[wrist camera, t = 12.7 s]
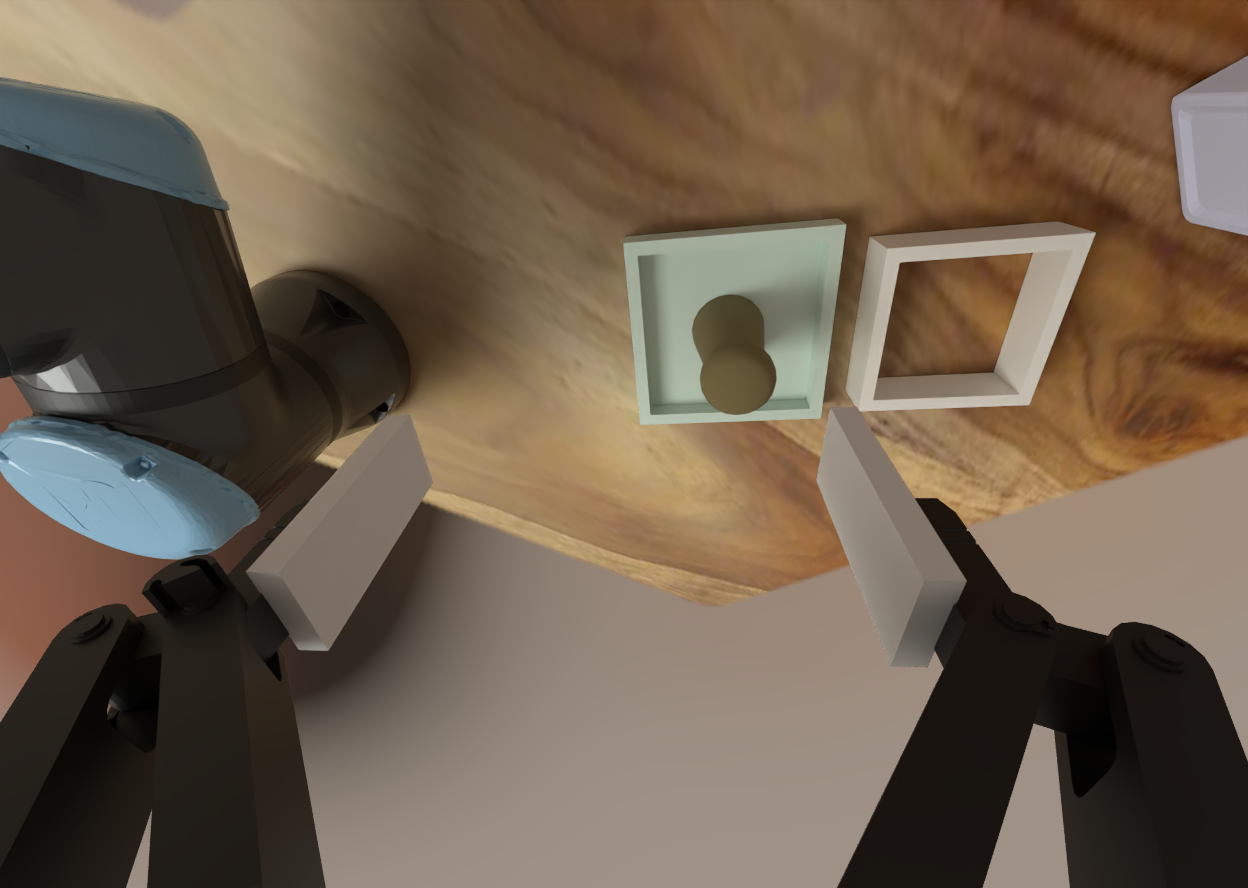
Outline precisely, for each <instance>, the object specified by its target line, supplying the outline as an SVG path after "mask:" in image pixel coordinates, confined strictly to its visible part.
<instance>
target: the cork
mask: <svg viewBox="0 0 1248 888" xmlns="http://www.w3.org/2000/svg"><path fill="white" fill-rule="evenodd" d="M692 336H693V341H694V344H695V346H696V349H697V351H698V353H699V356H700V358H701V361H702V363H703V365H702V369H701V373H700V385H701V391H702V393H703V395H704V396H705V398H706V400H707V401H708V403H709V404H710V405H711V406H713V407H714V408H715V409H716V410H718V411H721V412H723V413H725V414H731V415H742V414H748V413H750V412H753V411H755V410H757V409H759V408H760V407H762V406H763V405H764V404H765V403H767V401H768V400H769V398H770V397H771V396H772V394H773V392H774V388H775V385H776V381H777V376H776V368H775V365H774V363H773V361H772V359H771V357H770V355H769V354H768V353H767V352H766V351H765V350H764V318H763V316H762V314H761V312H760V309H759V308H758V307H757V306H756V305H755V304H754V303H753V302H752V301H751V300H749V299H747V298H745V297H743V296H739V295H731V294H729V295H723V296H718V297H716V298H714V299H712V300H710V301H708V302H707V303H706V304H705V305H704V306H703V307H702V308H701V309H700V310H699V311H698V313H697V315H696V317H695V318H694V321H693V326H692Z"/></svg>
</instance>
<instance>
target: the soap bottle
mask: <svg viewBox="0 0 1248 888" xmlns="http://www.w3.org/2000/svg"><path fill="white" fill-rule="evenodd" d="M1171 113H1172V122H1173V131H1174V140H1175V149H1176V158H1177V167H1178V176H1179V185H1180V194H1181V203H1182V212H1183V215H1184V217H1185V219H1186V220H1188V221H1189V222H1191V223H1194V224H1199V225H1203V226H1208V227H1212V228H1217V229H1221V230H1225V231H1230V232H1234V233H1239V234H1243V235H1248V56H1246V57H1245V58H1243V59H1241V60H1239V61H1237V62H1236V63H1234V64H1232V65H1230V66H1228V67H1227V68H1225V69H1223V70H1221V71H1219V72H1218V73H1216V74H1214V75H1212V76H1210V77H1209V78H1207V79H1205V80H1203V81H1201V82H1200V83H1198V84H1196V85H1194V86H1192V87H1191V88H1189V89H1187V90H1185V91H1183V92H1182V93H1180V94H1178V95H1176V96H1174V97H1173V100H1172V104H1171Z"/></svg>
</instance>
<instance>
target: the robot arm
mask: <svg viewBox="0 0 1248 888" xmlns="http://www.w3.org/2000/svg"><path fill="white" fill-rule="evenodd" d="M227 210H229V205H228V204H227V202H226V201H225V200H224V199H223V198H222V197H221V194H220V192H219V189H218V187H217V184H216V182H215V179H214V176H213V174H212V171H211V168H210V165H209V163H208V160H207V157H206V154H205V152H204V149H203V147H202V144H201V142H200V141H199V139H198V137H197V136H196V135H195V133H194V132H193V131H192V130H191V129H190V128H189V127H188V126H187V125H186V124H185V123H184V122H183V121H181V120H180V119H179V118H177V117H176V116H174V115H173V114H171V113H169V112H167V111H165V110H162V109H160V108H157V107H154V106H150V105H146V104H142V103H137V102H133V101H128V100H123V99H118V98H113V97H108V96H102V95H97V94H92V93H87V92H81V91H76V90H71V89H65V88H60V87H54V86H48V85H43V84H37V83H31V82H26V81H21V80H15V79H10V78H4V77H0V378H5V377H8V376H10V377H11V378H12V379H13V381H14V382H15V384H16V385H17V387H18V388H19V390H20V391H21V393H22V395H23V397H24V398H25V400H26V402H27V403H28V404H29V406H30V408H31V410H32V412H33V413H32V417H25V418H23V419H18V420H16V421H14V422H13V423H11V424H10V425H9V427H8V429H7V430H6V431H5V432H3V433H2V434H1V435H0V471H1V473H2V474H3V476H4V477H5V478H6V480H7V481H8V482H9V483H10V484H11V485H12V486H13V487H14V488H15V489H16V491H17V492H19V493H20V494H21V495H22V496H23V497H24V498H26V499H27V500H28V501H29V502H30V503H32V504H33V505H34V506H35V507H37V508H38V509H39V510H41V511H43V512H44V513H46V514H47V515H48V516H50V517H51V518H53V519H55V520H56V521H58V522H60V523H61V524H63V525H65V526H67V527H69V528H70V529H72V530H74V531H76V532H78V533H80V534H83V535H85V536H87V537H89V538H91V539H93V540H95V541H98V542H100V543H103V544H105V545H108V546H111V547H114V548H117V549H120V550H124V551H126V552H130V553H134V554H138V555H142V556H147V557H154V558H163V559H180V560H178V561H176V562H174V563H172V564H170V565H168V566H167V567H165V568H163V569H162V570H160V571H159V572H158V573H156V574H155V575H154V576H153V577H152V578H151V579H150V580H149V581H148V582H147V583H146V584H145V586H144V589H143V591H142V594H143V595H144V596H145V597H146V598H147V599H148V600H149V601H150V603H151V604H152V605H153V606H154V607H155V608H156V609H157V611H158V612H157V613H153V614H148V615H144V616H140V617H136V615H135V614H134V613H133V612H132V611H131V610H130V609H129V608H128V607H127V606H126V605H123V604H111V605H106V606H102V607H100V608H97V609H94V610H92V611H89V612H87V613H85V614H83V615H82V616H79V617H78V618H76V619H75V620H73V621H72V622H71V623H70V624H68V625H67V626H66V627H65V628H63V629H62V630H61V631H60V632H59V633H58V634H57V636H56V637H55V638H54V639H53V640H52V642H51V644H50V645H49V647H48V648H47V650H46V651H45V653H44V655H43V656H42V658H41V659H40V661H39V662H38V664H37V666H36V667H35V669H34V670H33V672H32V674H31V675H30V677H29V678H28V680H27V681H26V683H25V684H24V686H23V688H22V689H21V691H20V692H19V694H18V696H17V697H16V699H15V700H14V702H13V703H12V705H11V707H10V708H9V710H8V711H7V713H6V714H5V716H4V718H3V719H2V721H1V722H0V888H126V885H127V883H128V879H129V876H130V873H131V870H132V867H133V864H134V861H135V858H136V855H137V852H138V849H139V846H140V843H141V840H142V837H143V834H144V831H145V828H146V825H147V822H148V819H149V816H150V813H151V810H152V820H151V836H150V852H149V867H148V868H149V869H148V883H147V888H326V887H325V881H324V876H323V870H322V864H321V858H320V853H319V847H318V841H317V836H316V830H315V824H314V819H313V813H312V807H311V802H310V796H309V790H308V785H307V779H306V773H305V768H304V762H303V756H302V750H301V745H300V739H299V734H298V728H297V723H296V716H295V711H294V706H293V699H292V694H291V688H290V683H289V677H288V671H287V665H286V660H285V656H284V654H283V653H282V651H281V649H280V648H279V647H280V646H281V644H282V643H283V642H284V640H285V639H286V637H287V636H288V635H289V636H290V637H291V639H292V640H293V642H294V643H295V645H296V646H297V647H298V649H299V650H327V651H328V650H329V649H330V647H331V646H332V644H333V642H334V641H335V639H336V637H337V636H338V634H339V633H340V631H341V629H342V628H343V626H344V625H345V623H346V621H347V620H348V618H349V617H350V615H351V613H352V612H353V610H354V609H355V607H356V605H357V603H358V602H359V600H360V599H361V597H362V596H363V594H364V592H365V591H366V589H367V588H368V586H369V584H370V583H371V581H372V579H373V578H374V576H375V575H376V573H377V572H378V570H379V568H380V567H381V565H382V563H383V562H384V560H385V559H386V557H387V555H388V554H389V552H390V551H391V549H392V547H393V546H394V544H395V543H396V541H397V539H398V538H399V536H400V535H401V533H402V531H403V530H404V528H405V526H406V525H407V523H408V522H409V520H410V518H411V517H412V515H413V514H414V512H415V510H416V509H417V507H418V506H419V504H420V502H421V501H422V499H423V498H424V496H425V494H426V493H427V491H428V490H429V488H430V486H431V485H432V483H433V481H432V478H431V475H430V472H429V469H428V466H427V463H426V460H425V458H424V455H423V452H422V449H421V446H420V443H419V440H418V437H417V434H416V431H415V428H414V425H413V422H412V419H411V417H410V415H389V414H390V413H391V412H392V411H393V410H394V409H395V408H396V406H397V405H398V404H399V403H400V402H401V401H402V399H403V397H404V396H405V394H406V391H407V388H408V385H409V378H410V366H409V359H408V355H407V351H406V348H405V346H404V343H403V341H402V339H401V336H400V335H399V333H398V331H397V329H396V328H395V326H394V325H393V323H392V322H391V320H390V319H389V318H388V316H387V315H386V314H385V313H384V312H383V311H382V310H381V308H380V307H379V306H378V305H377V304H376V303H374V302H373V301H372V300H371V299H370V298H369V297H367V296H366V295H365V294H364V293H362V292H361V291H359V290H358V289H356V288H355V287H353V286H351V285H350V284H348V283H346V282H344V281H342V280H340V279H337V278H335V277H332V276H329V275H326V274H322V273H318V272H312V271H290V272H285V273H282V274H279V275H276V276H274V277H271V278H269V279H267V280H264V281H262V282H260V283H258V284H256V285H255V286H253V287H252V288H251V289H250V287H249V284H248V280H247V277H246V274H245V270H244V267H243V264H242V260H241V257H240V253H239V250H238V247H237V243H236V240H235V237H234V233H233V230H232V227H231V223H230V220H229V217H228V213H227ZM382 420H383V421H382ZM380 421H382V422H381V423H380V424H379V425H378V426H377V427H376V428H375V429H374V431H373V432H372V433H371V434H370V435H369V436H368V437H367V438H366V439H365V440H364V442H363V443H362V444H361V445H360V446H359V447H358V448H357V449H356V450H355V452H354V453H353V454H352V455H351V456H350V457H349V458H348V459H347V460H346V461H345V463H344V464H343V465H342V466H341V467H340V468H339V469H338V470H337V472H336V473H335V474H334V475H333V476H332V477H331V478H330V479H329V481H328V482H327V483H326V484H325V485H324V486H323V487H322V488H321V489H320V490H319V492H317V494H316V495H315V496H314V497H313V498H312V499H311V500H304V501H303V502H301V503H300V504H298V505H297V506H295V507H294V508H292V509H291V510H289V511H288V512H286V513H285V514H284V515H283V516H282V517H281V519H280V520H279V521H278V522H277V523H276V524H275V525H274V526H273V529H271V530H269V531H268V533H267V534H266V535H265V536H264V537H263V539H262V541H259V542H258V543H257V544H256V545H255V546H254V547H253V548H252V550H251V551H250V552H249V553H248V554H247V555H246V556H245V557H244V558H243V559H242V560H241V561H240V562H239V564H237V566H236V567H235V568H234V569H233V570H232V571H231V572H230V573H229V574H228V575H226V573H225V572H224V570H223V569H222V567H221V566H220V565H219V564H218V562H217V561H216V559H215V558H214V557H213V556H209V555H206V554H207V553H210V552H212V551H214V550H216V549H218V548H219V547H221V546H222V545H223V544H225V543H226V542H227V541H228V540H229V539H230V538H232V537H233V536H234V535H235V534H236V533H237V532H238V531H240V530H241V529H242V528H243V527H244V526H246V525H249V524H251V523H252V522H254V521H255V520H256V519H257V518H258V517H259V515H260V514H261V513H262V512H263V511H264V510H265V509H266V508H267V507H268V506H269V505H270V504H271V503H272V502H273V501H274V500H275V499H276V498H277V497H278V496H279V495H280V494H281V493H282V492H283V491H284V490H285V489H286V488H287V487H288V486H289V485H290V484H291V483H292V482H293V481H294V480H295V479H296V478H297V477H298V476H299V475H300V474H301V473H302V472H303V470H305V469H306V468H307V467H308V466H309V465H310V464H311V463H312V462H313V461H314V460H315V459H316V458H317V457H318V456H319V455H320V454H321V453H322V452H323V451H324V450H325V448H326V447H328V446H329V445H330V444H331V443H332V442H333V441H335V440H337V439H340V438H342V437H345V436H348V435H350V434H353V433H355V432H358V431H361V430H363V429H366V428H369V427H371V426H373V425H375V424H377V423H379V422H380ZM816 481H817V483H818V486H819V488H820V491H821V493H822V496H823V498H824V501H825V503H826V506H827V508H828V511H829V513H830V516H831V518H832V521H833V523H834V526H835V528H836V531H837V533H838V536H839V538H840V541H841V543H842V546H843V548H844V551H845V553H846V556H847V558H848V561H849V563H850V566H851V568H852V571H853V573H854V576H855V578H856V581H857V583H858V586H859V588H860V591H861V593H862V596H863V598H864V601H865V603H866V606H867V608H868V611H869V613H870V616H871V618H872V621H873V623H874V626H875V628H876V631H877V633H878V636H879V638H880V641H881V643H882V646H883V648H884V651H885V653H886V656H887V658H888V661H889V663H890V666H899V667H928V665H929V662H930V660H931V658H932V656H933V654H934V652H936V653H937V655H938V657H939V660H940V662H941V664H942V666H943V668H944V669H943V671H942V673H941V676H940V677H939V679H938V681H937V683H936V685H935V688H934V689H933V691H932V694H931V695H930V698H929V700H928V702H927V704H926V706H925V708H924V710H923V712H922V714H921V716H920V718H919V720H918V722H917V724H916V727H915V729H914V731H913V733H912V735H911V737H910V739H909V741H908V743H907V745H906V747H905V749H904V751H903V753H902V755H901V757H900V759H899V761H898V764H897V765H896V768H895V770H894V772H893V774H892V776H891V778H890V780H889V782H888V784H887V786H886V788H885V790H884V792H883V794H882V796H881V798H880V800H879V802H878V804H877V806H876V809H875V811H874V813H873V815H872V817H871V819H870V821H869V823H868V825H867V827H866V829H865V831H864V834H863V835H862V837H861V839H860V841H859V844H858V845H857V848H856V850H855V852H854V854H853V856H852V858H851V860H850V862H849V864H848V866H847V868H846V870H845V872H844V874H843V876H842V878H841V881H840V882H839V884H838V887H837V888H982V887H983V884H984V881H985V878H986V875H987V871H988V868H989V865H990V862H991V859H992V855H993V852H994V849H995V846H996V842H997V839H998V836H999V833H1000V830H1001V826H1002V823H1003V820H1004V817H1005V814H1006V810H1007V807H1008V804H1009V800H1010V797H1011V794H1012V791H1013V788H1014V784H1015V781H1016V778H1017V775H1018V772H1019V768H1020V765H1021V762H1022V758H1023V756H1024V752H1025V749H1026V746H1027V743H1028V739H1029V736H1030V733H1031V730H1032V726H1033V723H1034V724H1037V725H1040V726H1043V727H1047V728H1050V729H1053V730H1054V733H1055V743H1056V753H1057V763H1058V773H1059V783H1060V793H1061V804H1062V813H1063V824H1064V834H1065V843H1066V852H1067V864H1068V874H1069V883H1070V888H1248V761H1247V758H1246V756H1245V753H1244V750H1243V748H1242V745H1241V742H1240V740H1239V737H1238V735H1237V732H1236V730H1235V727H1234V724H1233V721H1232V719H1231V716H1230V714H1229V711H1228V708H1227V706H1226V703H1225V700H1224V698H1223V695H1222V692H1221V690H1220V687H1219V685H1218V682H1217V679H1216V677H1215V674H1214V671H1213V669H1212V668H1211V666H1210V665H1209V663H1208V662H1207V660H1206V659H1205V657H1204V656H1203V655H1202V654H1201V653H1199V652H1198V651H1197V650H1196V649H1195V648H1194V647H1193V646H1192V645H1190V644H1189V643H1187V642H1185V641H1184V640H1182V639H1181V638H1179V637H1177V636H1176V635H1174V634H1172V633H1170V632H1168V631H1165V630H1162V629H1160V628H1158V627H1155V626H1153V625H1148V624H1143V623H1138V622H1128V623H1121V624H1119V625H1118V626H1117V627H1115V628H1114V629H1113V630H1112V631H1111V632H1110V634H1109V635H1108V636H1106V635H1102V634H1098V633H1094V632H1090V631H1086V630H1082V629H1079V628H1075V627H1071V626H1067V625H1063V624H1060V623H1057V622H1056V621H1055V619H1054V618H1053V616H1052V615H1051V614H1050V613H1049V612H1047V611H1046V610H1045V609H1044V608H1043V607H1042V606H1041V605H1039V604H1037V603H1036V602H1034V601H1032V600H1030V599H1029V598H1027V597H1025V596H1021V595H1019V594H1016V593H1013V592H1012V591H1011V590H1010V588H1009V587H1008V586H1007V584H1006V583H1005V581H1004V580H1003V579H1002V577H1001V576H1000V574H999V573H998V571H997V570H996V569H995V567H994V566H993V564H992V563H991V562H990V560H989V559H988V557H987V556H986V555H985V553H984V552H983V550H982V549H981V548H980V546H979V545H978V544H976V541H975V539H974V538H973V536H972V535H971V533H970V532H969V531H967V528H966V526H965V525H964V524H963V522H962V521H961V519H960V518H959V517H958V515H957V514H956V512H954V511H953V510H952V509H950V508H949V507H948V506H946V505H945V504H944V503H942V502H941V501H940V500H938V499H937V498H914V497H913V495H912V493H911V492H910V490H909V489H908V487H907V486H906V484H905V482H904V481H903V479H902V478H901V476H900V474H899V473H898V471H897V470H896V468H895V467H894V465H893V463H892V462H891V460H890V459H889V457H888V455H887V454H886V452H885V451H884V449H883V448H882V446H881V444H880V443H879V441H878V440H877V438H876V437H875V435H874V433H873V432H872V430H871V429H870V427H869V425H868V424H867V422H866V421H865V419H864V418H863V416H862V414H861V413H860V411H859V410H858V408H857V407H830V411H829V417H828V422H827V427H826V432H825V438H824V443H823V448H822V454H821V459H820V464H819V469H818V475H817V480H816ZM108 704H110V705H111V708H110V710H109V712H108V714H107V708H108Z"/></svg>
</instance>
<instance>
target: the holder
mask: <svg viewBox="0 0 1248 888" xmlns="http://www.w3.org/2000/svg"><path fill="white" fill-rule="evenodd" d="M1095 234H1096V232H1092V231H1089V230H1086V229H1082V228H1079V227H1076V226H1072V225H1069V224H1066V223H1062V222H1059V221H1056V222H1043V223H1031V224H1019V225H1006V226H994V227H981V228H969V229H957V230H944V231H932V232H920V233H907V234H895V235H882V236H870V237H869V242H868V249H867V255H866V261H865V268H864V274H863V280H862V287H861V293H860V300H859V306H858V312H857V319H856V325H855V331H854V338H853V344H852V350H851V357H850V363H849V369H848V376H847V382H846V388H845V390H846V391H847V393H848V395H849V396H850V398H851V400H852V401H853V403H854V405H855V407H857V408H858V410H859V411H883V410H909V409H936V408H962V407H988V406H1015V405H1029V404H1030V402H1031V399H1032V396H1033V394H1034V391H1035V389H1036V386H1037V383H1038V381H1039V378H1040V376H1041V373H1042V371H1043V368H1044V365H1045V363H1046V360H1047V358H1048V355H1049V353H1050V350H1051V347H1052V345H1053V342H1054V340H1055V337H1056V334H1057V332H1058V329H1059V327H1060V324H1061V322H1062V319H1063V316H1064V314H1065V311H1066V309H1067V306H1068V303H1069V301H1070V298H1071V296H1072V293H1073V291H1074V288H1075V285H1076V283H1077V280H1078V278H1079V275H1080V273H1081V270H1082V267H1083V265H1084V262H1085V260H1086V257H1087V254H1088V252H1089V249H1090V247H1091V244H1092V242H1093V239H1094V236H1095ZM1021 253H1033V255H1032V258H1031V261H1030V264H1029V267H1028V270H1027V273H1026V276H1025V279H1024V282H1023V285H1022V288H1021V291H1020V294H1019V297H1018V300H1017V303H1016V306H1015V309H1014V312H1013V315H1012V318H1011V321H1010V324H1009V327H1008V330H1007V333H1006V336H1005V339H1004V342H1003V346H1002V349H1001V352H1000V355H999V358H998V361H997V364H996V367H995V370H994V372H993V373H971V374H950V375H928V376H906V377H884V378H878V372H879V367H880V362H881V357H882V352H883V347H884V342H885V336H886V331H887V326H888V321H889V316H890V311H891V305H892V300H893V295H894V290H895V285H896V280H897V275H898V269H899V264H900V262H913V261H926V260H940V259H953V258H967V257H980V256H994V255H1007V254H1021Z"/></svg>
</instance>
